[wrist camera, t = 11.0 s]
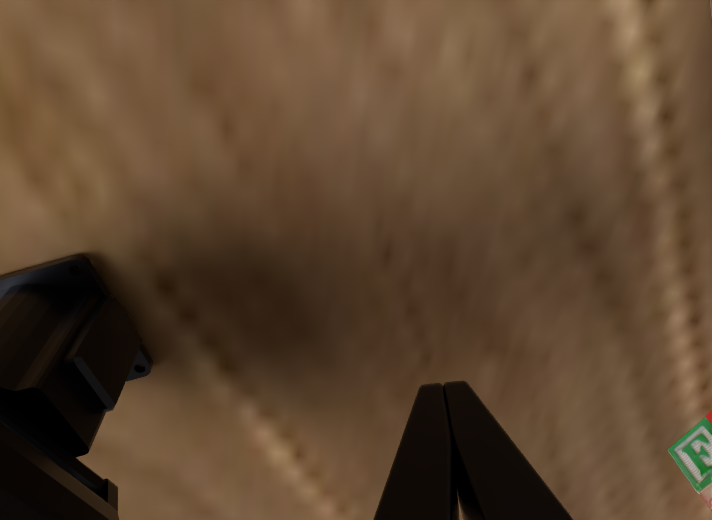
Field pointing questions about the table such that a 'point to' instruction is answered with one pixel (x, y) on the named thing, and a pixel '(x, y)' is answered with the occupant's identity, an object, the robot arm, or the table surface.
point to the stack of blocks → (696, 457)
